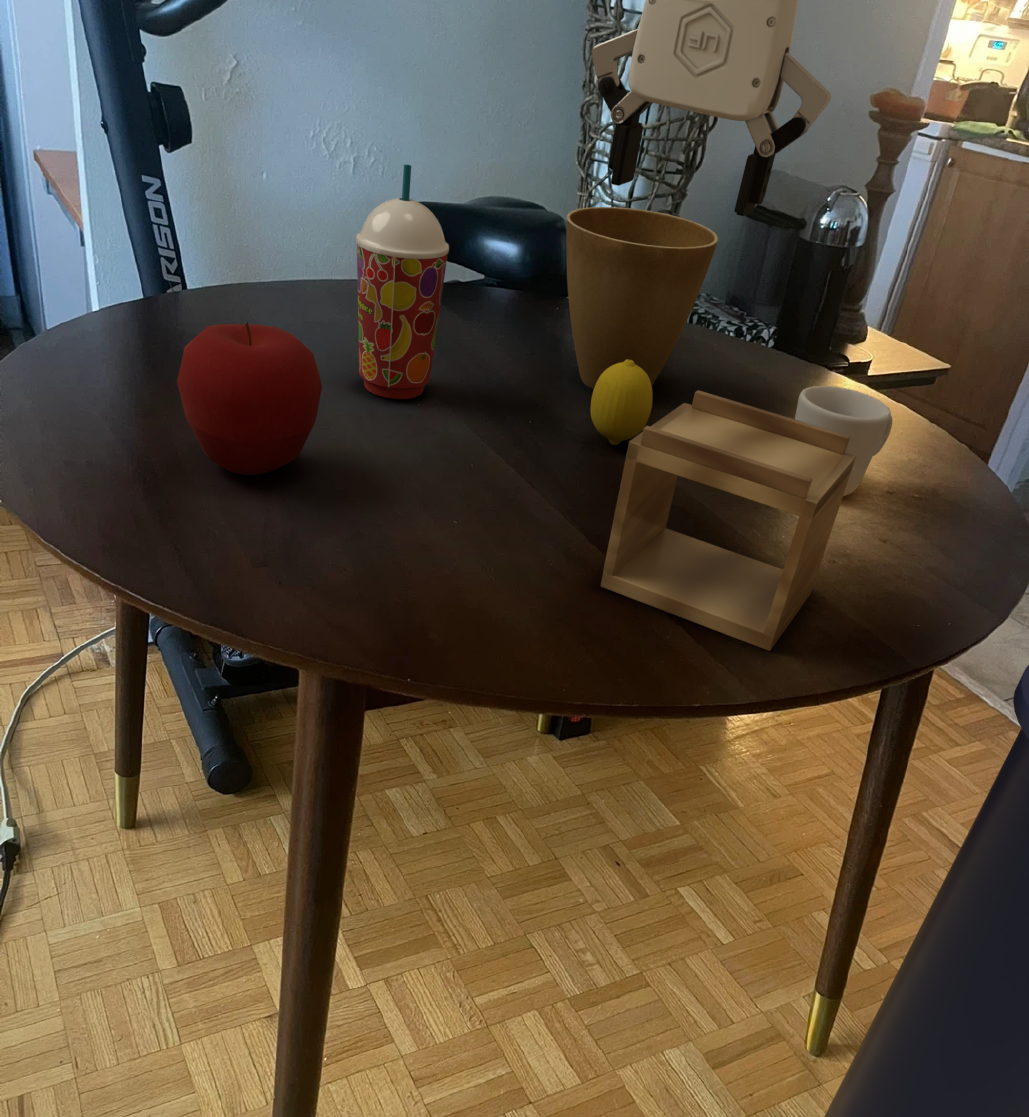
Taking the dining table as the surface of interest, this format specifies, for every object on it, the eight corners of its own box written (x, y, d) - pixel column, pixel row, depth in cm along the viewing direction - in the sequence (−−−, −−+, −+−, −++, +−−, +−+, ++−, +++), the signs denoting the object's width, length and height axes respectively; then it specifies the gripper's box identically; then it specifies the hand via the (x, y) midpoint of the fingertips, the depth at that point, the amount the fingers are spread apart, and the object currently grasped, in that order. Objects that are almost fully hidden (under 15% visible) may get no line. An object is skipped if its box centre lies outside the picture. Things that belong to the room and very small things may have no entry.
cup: (839, 459, 103) (865, 379, 99) (901, 494, 98) (932, 411, 94) (758, 472, 98) (781, 388, 94) (819, 510, 93) (847, 423, 88)
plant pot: (570, 349, 120) (593, 198, 111) (696, 381, 117) (732, 227, 108) (523, 387, 109) (545, 221, 100) (662, 423, 105) (699, 255, 96)
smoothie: (352, 370, 107) (361, 150, 95) (436, 378, 108) (454, 162, 96) (348, 401, 100) (356, 168, 88) (437, 409, 101) (457, 180, 89)
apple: (252, 510, 80) (250, 357, 73) (151, 465, 84) (140, 315, 77) (347, 468, 88) (352, 326, 81) (250, 429, 92) (248, 290, 85)
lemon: (577, 431, 101) (591, 347, 96) (633, 433, 102) (649, 351, 98) (593, 456, 97) (608, 369, 92) (650, 458, 98) (668, 372, 93)
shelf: (810, 594, 80) (861, 439, 73) (769, 651, 73) (822, 485, 66) (653, 538, 85) (687, 386, 78) (599, 586, 77) (632, 424, 70)
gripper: (598, -110, 69) (556, 177, 79) (863, -67, 64) (782, 233, 74) (638, -100, 74) (594, 166, 84) (883, -60, 70) (806, 217, 79)
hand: (681, 197), depth 79 cm, fingers open, 9 cm apart
